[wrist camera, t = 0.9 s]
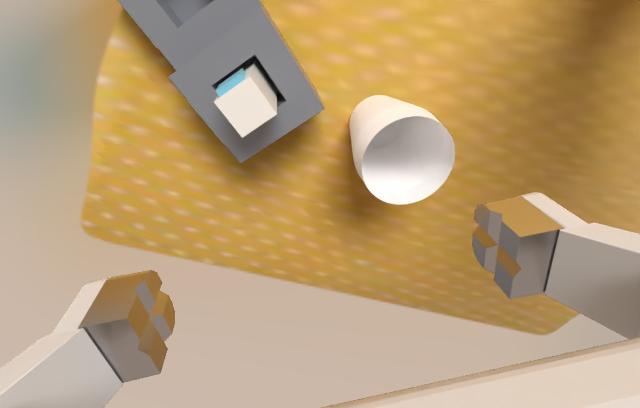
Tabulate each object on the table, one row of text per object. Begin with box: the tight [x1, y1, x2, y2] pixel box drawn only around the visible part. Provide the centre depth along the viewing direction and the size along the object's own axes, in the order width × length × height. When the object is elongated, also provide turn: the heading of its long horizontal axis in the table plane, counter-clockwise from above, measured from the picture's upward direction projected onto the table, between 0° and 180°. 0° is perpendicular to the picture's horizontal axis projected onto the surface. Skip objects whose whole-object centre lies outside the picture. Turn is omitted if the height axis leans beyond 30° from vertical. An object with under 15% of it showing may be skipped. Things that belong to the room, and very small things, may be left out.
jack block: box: [118, 0, 325, 163], centre depth 33 cm, size 10×20×7 cm, turn 32°
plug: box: [214, 59, 277, 138], centre depth 32 cm, size 4×4×9 cm
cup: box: [349, 95, 455, 205], centre depth 37 cm, size 9×9×12 cm
